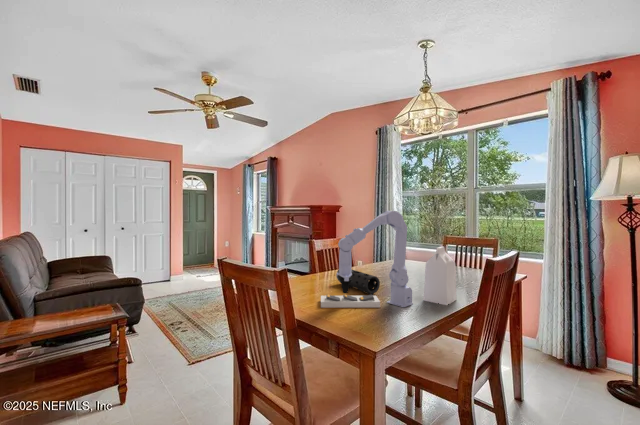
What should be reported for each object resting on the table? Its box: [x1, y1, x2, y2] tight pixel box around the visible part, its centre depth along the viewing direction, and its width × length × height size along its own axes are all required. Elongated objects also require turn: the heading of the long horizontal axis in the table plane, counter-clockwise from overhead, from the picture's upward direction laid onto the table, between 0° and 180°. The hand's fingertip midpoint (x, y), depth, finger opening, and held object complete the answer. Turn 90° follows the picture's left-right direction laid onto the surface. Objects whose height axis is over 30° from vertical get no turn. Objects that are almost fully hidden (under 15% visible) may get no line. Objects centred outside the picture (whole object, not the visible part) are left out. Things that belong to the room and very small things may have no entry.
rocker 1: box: [325, 294, 339, 301], centre depth 144 cm, size 6×4×1 cm, turn 90°
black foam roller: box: [335, 268, 381, 296], centre depth 171 cm, size 10×28×10 cm, turn 32°
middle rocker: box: [342, 293, 357, 301], centre depth 144 cm, size 6×4×1 cm, turn 90°
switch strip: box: [320, 295, 381, 308], centre depth 145 cm, size 27×10×3 cm, turn 90°
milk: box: [422, 246, 457, 306], centre depth 151 cm, size 12×12×26 cm
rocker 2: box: [360, 294, 374, 301], centre depth 144 cm, size 6×4×1 cm, turn 90°
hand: (345, 292), depth 144 cm, fingers closed
